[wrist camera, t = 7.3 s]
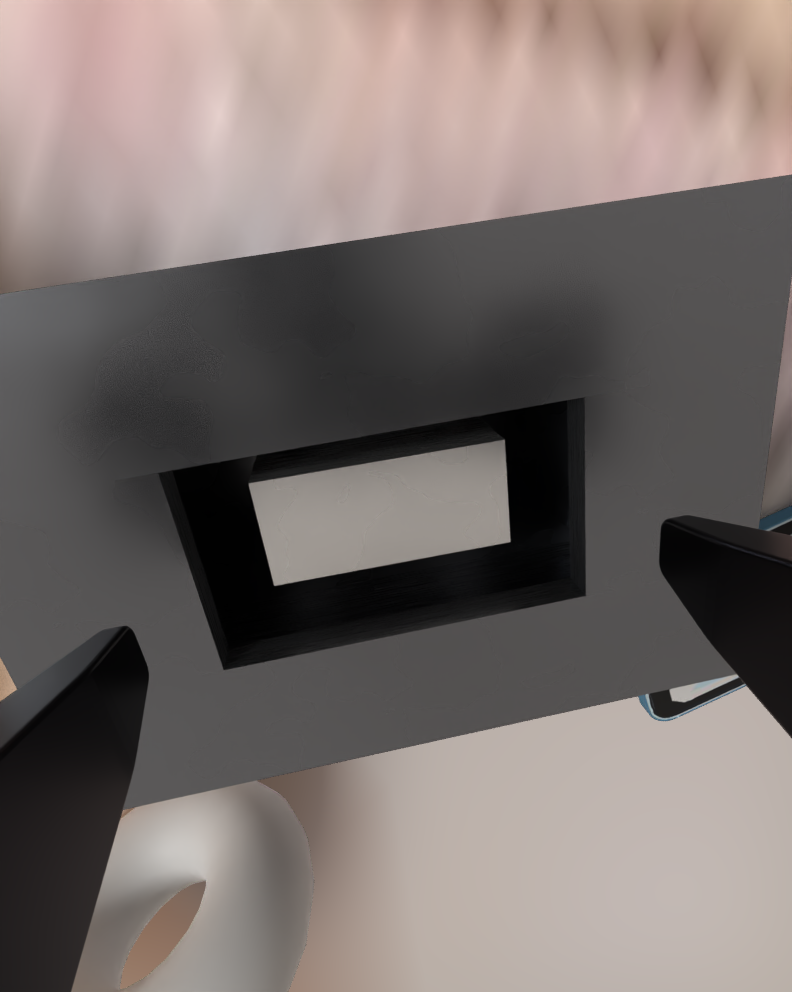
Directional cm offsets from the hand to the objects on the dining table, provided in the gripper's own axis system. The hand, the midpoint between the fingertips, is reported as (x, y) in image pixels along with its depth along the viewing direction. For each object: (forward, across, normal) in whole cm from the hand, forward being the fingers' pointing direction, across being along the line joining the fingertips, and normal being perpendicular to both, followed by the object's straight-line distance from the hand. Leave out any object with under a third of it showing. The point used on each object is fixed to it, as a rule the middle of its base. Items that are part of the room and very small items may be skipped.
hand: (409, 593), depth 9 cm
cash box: (+9, 0, 0) cm, 9 cm away
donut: (+9, +9, +13) cm, 18 cm away
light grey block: (+8, 0, 0) cm, 8 cm away
